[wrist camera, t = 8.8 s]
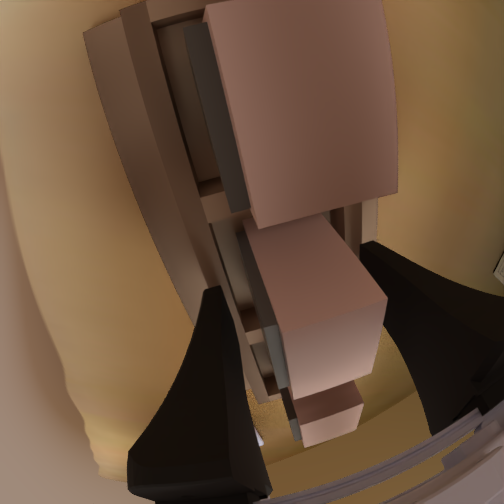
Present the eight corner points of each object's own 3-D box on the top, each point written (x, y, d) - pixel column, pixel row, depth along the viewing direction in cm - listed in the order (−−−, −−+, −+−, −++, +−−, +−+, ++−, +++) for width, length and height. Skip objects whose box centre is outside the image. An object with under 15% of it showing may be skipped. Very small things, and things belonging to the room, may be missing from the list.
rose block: (250, 293, 14) (282, 402, 10) (232, 222, 12) (266, 337, 7) (317, 274, 15) (371, 372, 10) (312, 202, 12) (387, 297, 7)
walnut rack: (229, 382, 20) (247, 470, 15) (91, 35, 8) (-17, 9, 2) (359, 341, 21) (399, 418, 15) (342, -12, 8) (469, -46, 2)
